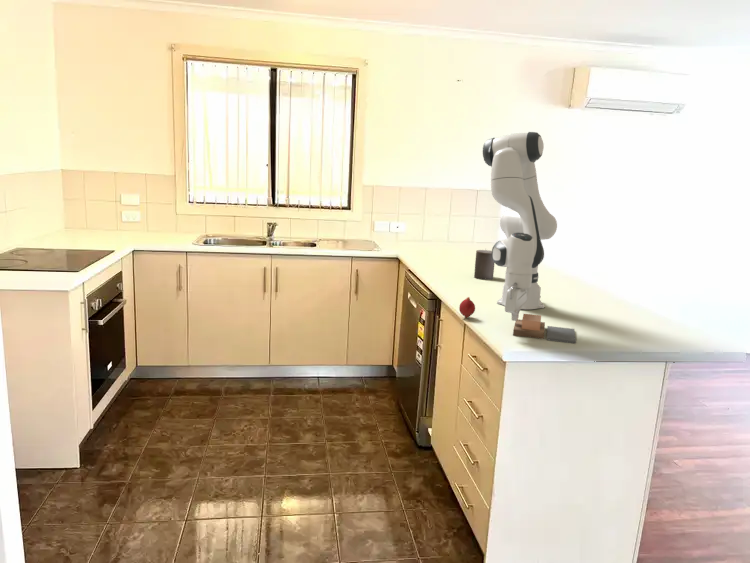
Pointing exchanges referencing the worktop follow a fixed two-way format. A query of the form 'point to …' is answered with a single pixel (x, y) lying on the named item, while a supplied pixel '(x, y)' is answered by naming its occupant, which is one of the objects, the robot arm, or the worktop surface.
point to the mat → (561, 334)
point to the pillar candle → (484, 265)
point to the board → (528, 330)
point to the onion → (467, 307)
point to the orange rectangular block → (531, 322)
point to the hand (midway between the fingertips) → (514, 319)
